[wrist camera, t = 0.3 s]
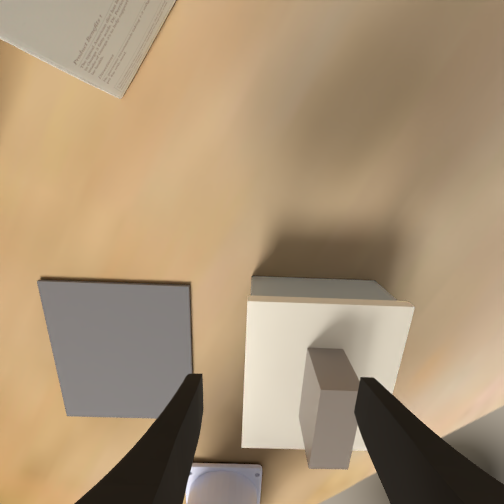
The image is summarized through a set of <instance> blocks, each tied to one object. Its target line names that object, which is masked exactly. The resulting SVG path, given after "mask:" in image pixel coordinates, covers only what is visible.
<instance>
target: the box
mask: <svg viewBox="0 0 504 504" xmlns="http://www.w3.org/2000/svg"><path fill="white" fill-rule="evenodd" d="M251 295H254V296H282V297H311V298H339V299H367V300H395V301H397V300H396V299H395V298H394V297H393V296H392V295H391V294H390V293H388V292H387V291H386V290H385V289H384V288H383V287H382V286H381V285H379V284H378V283H377V282H376V281H375V280H348V279H321V278H294V277H267V276H252V281H251Z"/></svg>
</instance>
